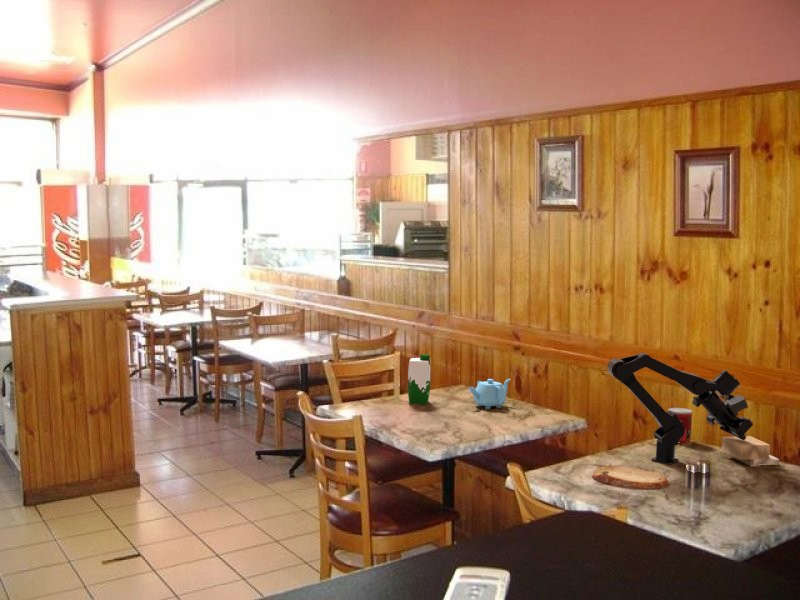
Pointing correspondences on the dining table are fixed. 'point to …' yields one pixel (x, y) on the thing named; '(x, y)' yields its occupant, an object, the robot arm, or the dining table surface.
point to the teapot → (490, 393)
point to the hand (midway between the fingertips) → (744, 439)
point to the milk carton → (419, 379)
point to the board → (759, 460)
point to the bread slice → (629, 477)
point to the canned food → (686, 418)
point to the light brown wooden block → (745, 448)
